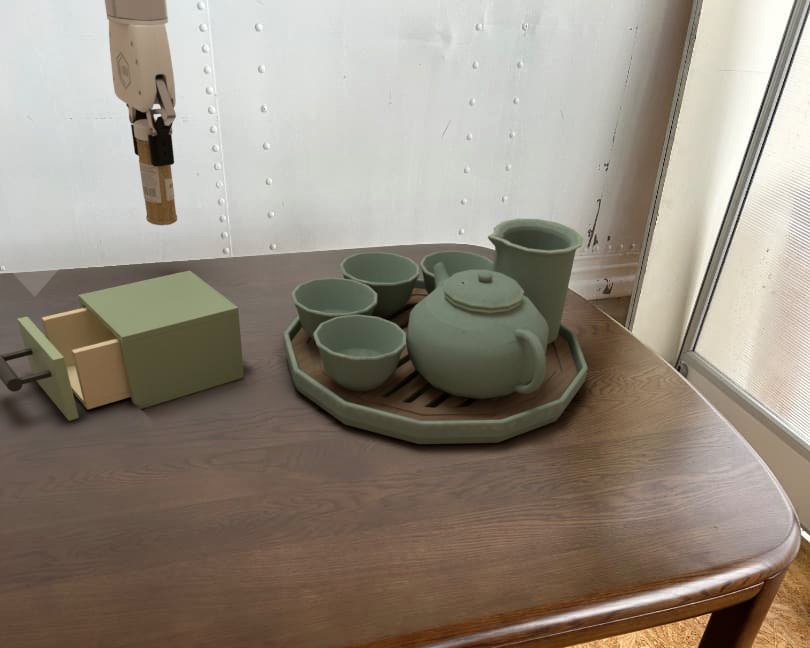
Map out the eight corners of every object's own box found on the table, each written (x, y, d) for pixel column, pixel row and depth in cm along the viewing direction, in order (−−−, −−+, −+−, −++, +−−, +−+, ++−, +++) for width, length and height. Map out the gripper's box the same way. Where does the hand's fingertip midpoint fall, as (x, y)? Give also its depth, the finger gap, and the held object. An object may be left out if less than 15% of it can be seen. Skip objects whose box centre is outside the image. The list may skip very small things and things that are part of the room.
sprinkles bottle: (183, 222, 118) (173, 124, 109) (156, 228, 115) (143, 128, 106) (167, 213, 120) (156, 116, 111) (140, 218, 117) (126, 119, 109)
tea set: (395, 279, 127) (401, 170, 116) (626, 359, 111) (658, 243, 100) (219, 373, 101) (205, 246, 90) (487, 495, 86) (510, 359, 75)
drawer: (25, 434, 87) (6, 371, 82) (-8, 388, 94) (-28, 328, 88) (178, 388, 96) (169, 329, 91) (138, 350, 103) (128, 293, 98)
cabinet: (135, 411, 94) (121, 337, 87) (94, 366, 101) (78, 294, 94) (244, 377, 101) (238, 307, 94) (198, 338, 108) (189, 270, 102)
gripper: (81, -5, 103) (104, 146, 115) (136, 19, 93) (156, 180, 105) (136, -5, 107) (153, 141, 119) (194, 18, 97) (206, 173, 109)
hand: (154, 158), depth 112 cm, fingers closed on sprinkles bottle, 4 cm apart
